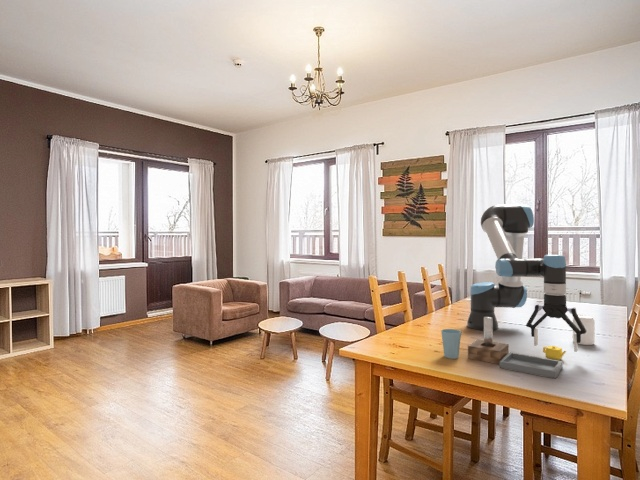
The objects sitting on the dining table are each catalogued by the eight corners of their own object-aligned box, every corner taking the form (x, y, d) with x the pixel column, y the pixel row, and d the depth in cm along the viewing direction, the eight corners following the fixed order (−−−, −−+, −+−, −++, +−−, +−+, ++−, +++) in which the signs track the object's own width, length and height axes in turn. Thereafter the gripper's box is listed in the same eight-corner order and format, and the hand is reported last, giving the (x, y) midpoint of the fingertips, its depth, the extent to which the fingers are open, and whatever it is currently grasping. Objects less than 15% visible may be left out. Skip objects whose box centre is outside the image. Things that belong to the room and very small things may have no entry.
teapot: (568, 359, 154) (568, 346, 154) (564, 363, 150) (564, 349, 150) (546, 355, 160) (546, 342, 160) (541, 358, 156) (541, 345, 156)
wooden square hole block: (468, 358, 157) (468, 345, 157) (478, 351, 166) (478, 339, 166) (499, 364, 149) (499, 351, 149) (508, 356, 158) (508, 344, 158)
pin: (482, 352, 157) (482, 317, 157) (485, 350, 160) (485, 316, 159) (491, 354, 155) (491, 318, 155) (493, 352, 158) (493, 317, 157)
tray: (499, 367, 145) (499, 361, 145) (509, 358, 156) (509, 352, 156) (555, 378, 134) (555, 371, 134) (562, 367, 145) (562, 361, 144)
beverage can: (584, 346, 170) (584, 319, 170) (568, 341, 178) (568, 315, 178) (599, 344, 173) (599, 317, 172) (582, 340, 180) (582, 314, 180)
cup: (439, 353, 163) (439, 328, 163) (458, 353, 163) (458, 328, 162) (443, 359, 156) (443, 333, 155) (463, 359, 155) (463, 333, 155)
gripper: (517, 292, 159) (518, 344, 159) (592, 297, 143) (592, 355, 143) (522, 290, 165) (522, 341, 165) (594, 295, 149) (594, 351, 149)
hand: (555, 348), depth 154 cm, fingers open, 13 cm apart
